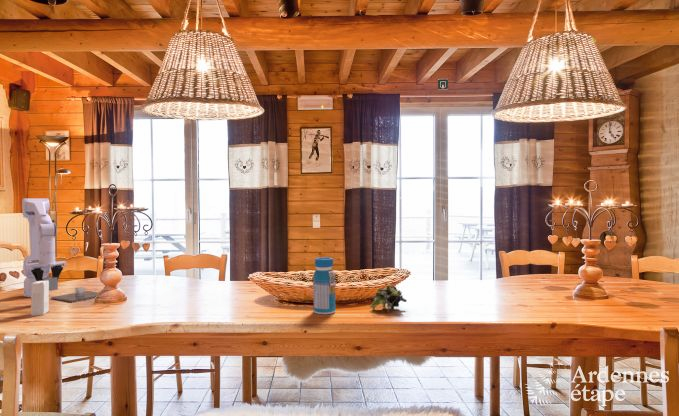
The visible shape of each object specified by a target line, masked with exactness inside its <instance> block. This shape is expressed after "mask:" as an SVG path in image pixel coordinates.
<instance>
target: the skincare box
mask: <svg viewBox="0 0 679 416" xmlns="http://www.w3.org/2000/svg"><path fill="white" fill-rule="evenodd" d="M49 293H50V291H49V281H48V280H46V281H36V282H34V283H32V284H31V297H30V298H31V301H30V303H31V304H30V306H31V308H30V310H31V311H30V315H31V316H32V317H33V316H34V317H36V316H37V317H38V315H39V316H44V315H46V314H47V313H48V312H49V311H50V297H49V296H50V295H49Z"/></svg>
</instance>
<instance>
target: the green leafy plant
mask: <svg viewBox="0 0 679 416" xmlns="http://www.w3.org/2000/svg"><path fill="white" fill-rule="evenodd" d="M402 293H403V292H402V291H401V290H398V289H397V286H395V285H394V286H393V285H391V284H389V285H386V287H385V288H378V287H377V292H375V296H374V297H373V302H371V304H370V308H371V309H372V310H375V309H376V307H377V306H379V305H382V308H383V309H384V310H386V306H387V311H386V313H387V314H388V313H389V312H390V309H394V308H395V307H396V308H399V306H400V304H399V303H400V302H404V303H407V299H406V298H404V297H403V294H402ZM386 304H387V305H386Z"/></svg>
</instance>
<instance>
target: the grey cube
mask: <svg viewBox="0 0 679 416" xmlns="http://www.w3.org/2000/svg"><path fill="white" fill-rule="evenodd" d="M46 280H48V281H49V292H50V291H56V290H58V289H59V288H58V287H59V285H58V281H59V278H58V277H52V276H47V277H44V278H43V281H46Z"/></svg>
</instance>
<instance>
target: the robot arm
mask: <svg viewBox="0 0 679 416" xmlns="http://www.w3.org/2000/svg"><path fill="white" fill-rule="evenodd" d="M21 209H22V210H21V211H22V214H21V215H22V217H23V218H25V219H27V222H28V227H29V230H28V232H29V249H30V250H29V251H30V252H29V253H30V254H29V255H28V256H26V257H25V258H24V260H23V266H22V273H23V275H24V276H25V277H26V278H24V280H23V294H21V296H22V297H27V298H31V284H32V283H34V282H36V281H43V278H44V277H48V275H49V274H50V273H51V277H58V279H60V278H59V277H60V276H61V273H62V272H63V270H64V267H65V266H67V261H66V260H62V261H56V237H57V234H58V233H57V232H58V231H57V225H56V222H53V221H52V218H51V216H50V214H49V211H50V209H51V208H50V199H49V198H48V197H45V198H39V197H38V198H32V197H31V198H30V197H29V198H28V197H27V198H26V197H24V198H23V199H22V200H21ZM49 296H52V293H51V292H49Z"/></svg>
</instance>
